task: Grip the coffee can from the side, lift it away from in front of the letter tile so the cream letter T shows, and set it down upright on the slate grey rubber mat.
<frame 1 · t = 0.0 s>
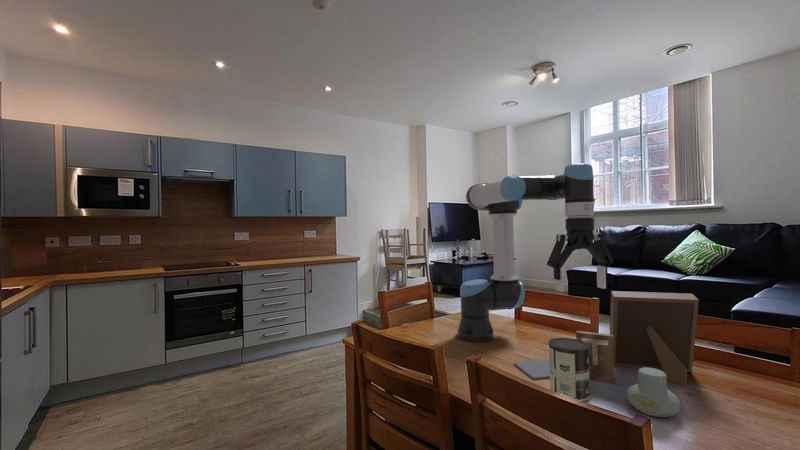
hand: (581, 289, 105), 28 cm above the table, tool pointing down, fingers open, 13 cm apart
letter tile: (595, 377, 109), on the table
grey mat: (540, 369, 116), on the table
coffee can: (569, 393, 100), on the table
air freshener: (652, 412, 90), on the table
photo frame: (654, 374, 111), on the table
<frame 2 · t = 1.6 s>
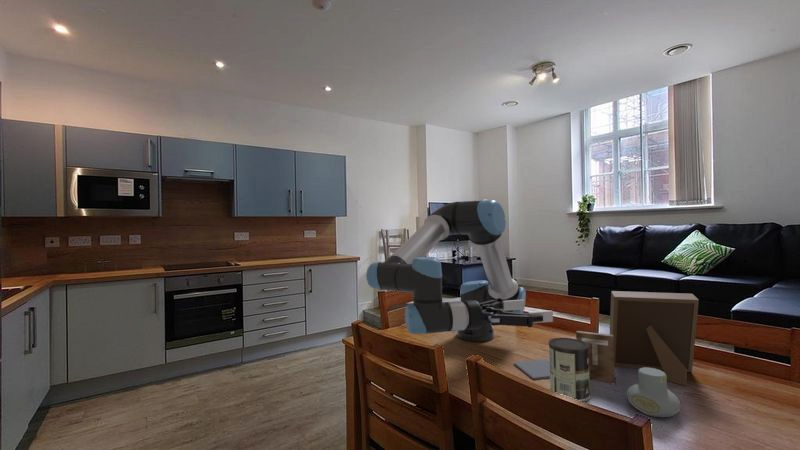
hand: (537, 309, 98), 24 cm above the table, tool horizontal, fingers open, 13 cm apart
nothing on the table moved.
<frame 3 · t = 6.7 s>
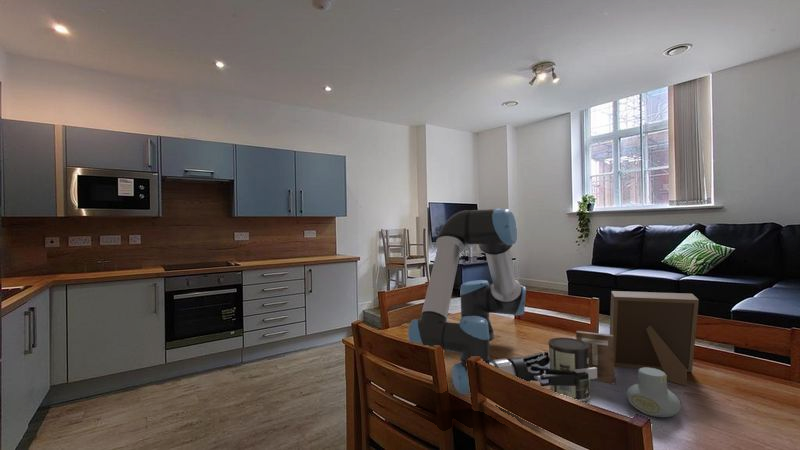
hand: (582, 364, 100), 8 cm above the table, tool horizontal, fingers closed on coffee can, 10 cm apart
coffee can: (569, 393, 100), on the table, touching gripper
everything else where it was.
when the fingers open (9 cm above the table, at t = 12.1 s): coffee can drops 1 cm, resting on grey mat.
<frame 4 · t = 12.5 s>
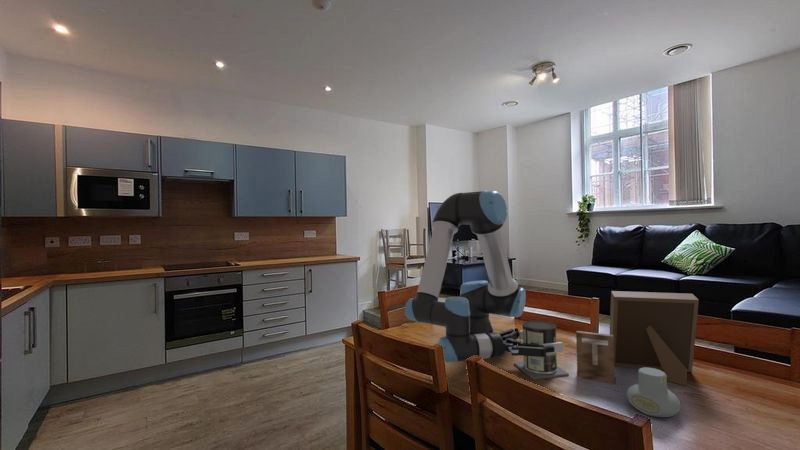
hand: (548, 339, 116), 10 cm above the table, tool horizontal, fingers open, 13 cm apart
coffee can: (539, 368, 116), resting on grey mat
everything else where it was.
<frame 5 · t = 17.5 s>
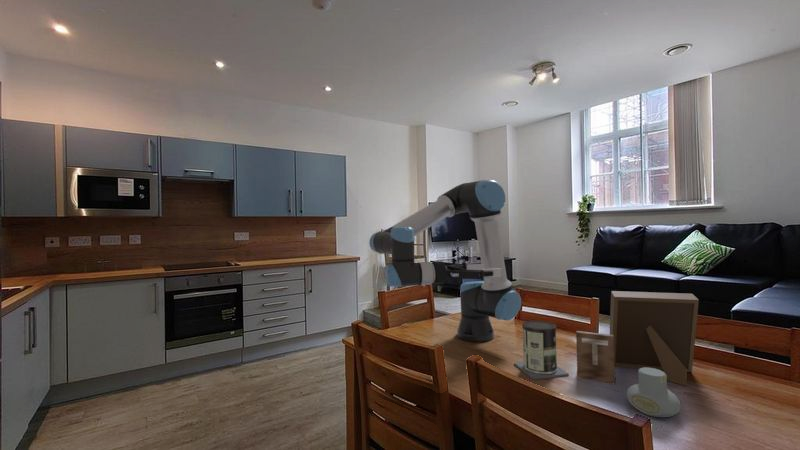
hand: (492, 269, 122), 32 cm above the table, tool horizontal, fingers open, 13 cm apart
nothing on the table moved.
at the end: coffee can inside the target area on the grey mat (0.1 cm from its centre), point 0.4 cm above the grey mat's base; coffee can tilted 0°; letter tile moved 0.1 cm from its start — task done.
